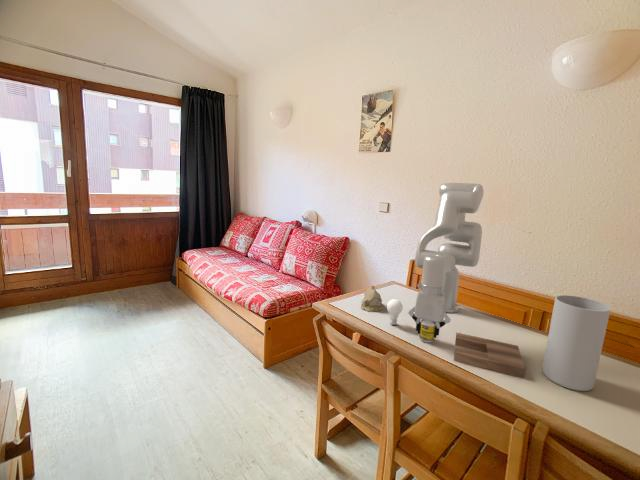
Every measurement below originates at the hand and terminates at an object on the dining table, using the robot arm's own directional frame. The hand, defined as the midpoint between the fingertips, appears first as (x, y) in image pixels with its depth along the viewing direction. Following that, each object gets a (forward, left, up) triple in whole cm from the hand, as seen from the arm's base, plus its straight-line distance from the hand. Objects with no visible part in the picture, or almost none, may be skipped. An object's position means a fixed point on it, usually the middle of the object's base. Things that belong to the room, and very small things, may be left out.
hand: (427, 334), depth 116 cm
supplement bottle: (0, 0, -2) cm, 2 cm away
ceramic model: (-22, -28, -3) cm, 35 cm away
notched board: (+2, +20, -2) cm, 20 cm away
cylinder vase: (+4, +42, -2) cm, 42 cm away
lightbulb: (-7, -14, -2) cm, 16 cm away
